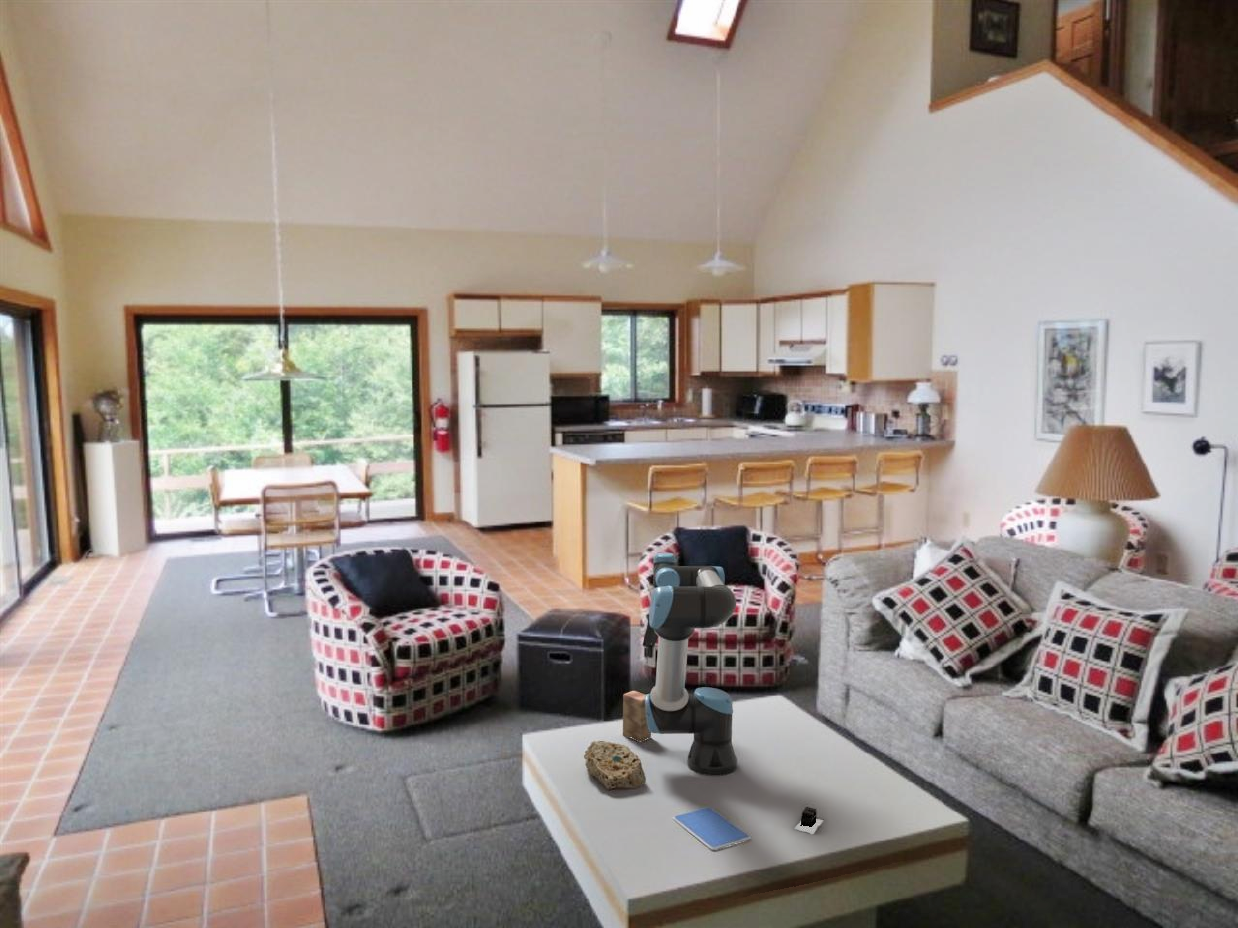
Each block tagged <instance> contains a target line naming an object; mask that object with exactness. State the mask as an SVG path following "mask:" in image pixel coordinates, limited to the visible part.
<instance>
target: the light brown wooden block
mask: <svg viewBox="0 0 1238 928" xmlns="http://www.w3.org/2000/svg"><path fill="white" fill-rule="evenodd" d="M646 695H647V694H644V693H642V692H639V691H636V690H631V691H629V692H626V693H623V696H622V697H623V699H622V700H623V701H622V736H624V737H626V738H629V737H632V738H634V739H636V740H638V741H637V742H639V741H642V742H644V741H643V740H645V739H647V738H649V739H651V738H652V733H651V732H650V731H649V729H648V725H647V715H646V706H645V696H646ZM650 737H651V738H650ZM634 739H633V740H634ZM636 740H635V741H636ZM647 740H648V739H647ZM645 741H646V740H645Z"/></svg>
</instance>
